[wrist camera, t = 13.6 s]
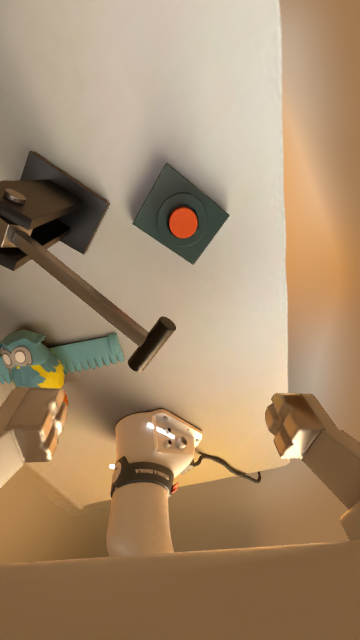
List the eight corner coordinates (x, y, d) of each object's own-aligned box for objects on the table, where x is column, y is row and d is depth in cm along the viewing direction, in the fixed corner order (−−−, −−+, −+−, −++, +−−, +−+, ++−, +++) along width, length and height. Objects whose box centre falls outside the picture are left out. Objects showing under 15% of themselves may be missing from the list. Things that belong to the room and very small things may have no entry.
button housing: (226, 213, 34) (233, 217, 31) (192, 261, 37) (195, 269, 34) (166, 163, 30) (166, 161, 27) (133, 221, 33) (131, 226, 30)
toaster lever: (179, 324, 20) (171, 334, 17) (147, 364, 22) (136, 377, 20) (14, 190, 20) (-14, 184, 18) (-2, 242, 22) (-29, 242, 20)
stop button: (201, 217, 31) (203, 219, 29) (185, 240, 32) (186, 243, 31) (178, 200, 30) (180, 201, 28) (163, 225, 31) (163, 227, 30)
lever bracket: (110, 203, 32) (75, 224, 19) (85, 252, 35) (41, 300, 22) (34, 151, 28) (-77, 130, 15) (14, 211, 32) (-92, 237, 18)
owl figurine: (-30, 432, 41) (-96, 370, 34) (-1, 394, 49) (-49, 335, 41) (125, 406, 41) (95, 336, 33) (130, 371, 48) (107, 307, 40)
